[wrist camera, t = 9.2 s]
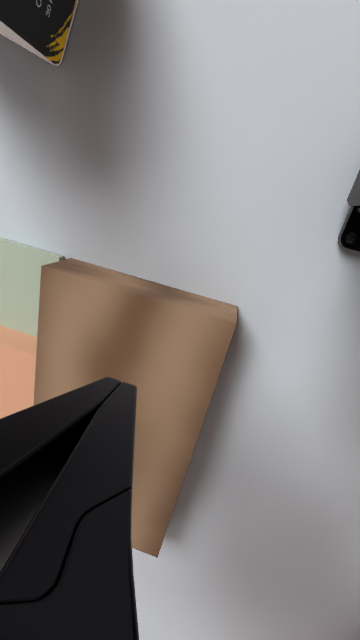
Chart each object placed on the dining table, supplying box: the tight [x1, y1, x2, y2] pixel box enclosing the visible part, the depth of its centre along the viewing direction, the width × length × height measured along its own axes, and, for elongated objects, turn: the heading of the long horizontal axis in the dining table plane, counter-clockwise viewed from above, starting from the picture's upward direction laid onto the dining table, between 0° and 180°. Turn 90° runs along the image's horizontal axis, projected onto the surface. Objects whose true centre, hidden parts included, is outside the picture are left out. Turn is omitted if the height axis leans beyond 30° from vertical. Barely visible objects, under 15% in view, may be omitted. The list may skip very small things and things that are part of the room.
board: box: [33, 258, 237, 557], centre depth 21 cm, size 11×20×3 cm, turn 166°
